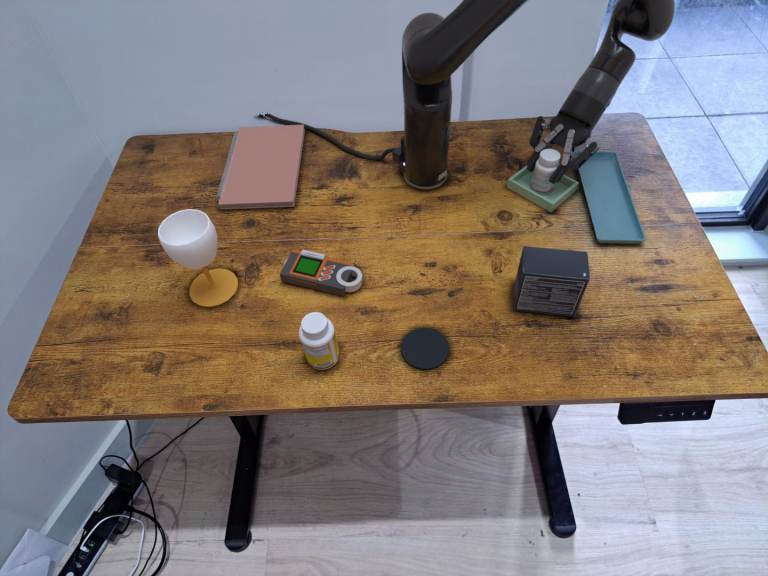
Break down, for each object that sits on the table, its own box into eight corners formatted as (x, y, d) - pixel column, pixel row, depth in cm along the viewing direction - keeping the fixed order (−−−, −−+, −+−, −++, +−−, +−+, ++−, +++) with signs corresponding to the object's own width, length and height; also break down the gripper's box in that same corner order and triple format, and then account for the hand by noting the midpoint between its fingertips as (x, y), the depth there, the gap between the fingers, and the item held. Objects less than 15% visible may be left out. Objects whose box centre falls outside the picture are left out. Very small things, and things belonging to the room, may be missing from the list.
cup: (185, 278, 97) (151, 217, 84) (232, 263, 99) (206, 201, 86) (194, 314, 91) (159, 254, 79) (243, 297, 93) (217, 236, 81)
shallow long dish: (643, 247, 97) (648, 238, 95) (594, 247, 97) (598, 238, 95) (613, 160, 113) (616, 151, 111) (571, 160, 113) (573, 151, 111)
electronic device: (355, 291, 90) (277, 272, 92) (356, 300, 92) (280, 282, 95) (367, 263, 94) (291, 245, 96) (367, 273, 96) (293, 255, 99)
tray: (506, 187, 109) (508, 179, 107) (532, 167, 112) (534, 159, 111) (550, 212, 104) (553, 204, 102) (576, 190, 107) (579, 182, 106)
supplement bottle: (323, 336, 87) (314, 301, 79) (346, 354, 85) (340, 319, 77) (299, 358, 85) (288, 324, 77) (323, 377, 82) (314, 344, 74)
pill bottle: (553, 196, 106) (562, 163, 99) (529, 193, 107) (537, 161, 100) (553, 181, 109) (562, 148, 102) (530, 179, 109) (538, 146, 103)
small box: (573, 289, 91) (589, 249, 83) (575, 318, 87) (592, 280, 79) (513, 282, 93) (523, 243, 85) (512, 311, 89) (523, 273, 81)
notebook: (236, 133, 125) (234, 126, 123) (305, 130, 124) (303, 123, 123) (215, 210, 108) (212, 203, 106) (294, 207, 108) (292, 200, 106)
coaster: (391, 349, 85) (391, 347, 85) (423, 320, 89) (424, 319, 88) (426, 379, 82) (426, 377, 81) (458, 348, 85) (459, 347, 84)
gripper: (553, 77, 99) (505, 156, 104) (620, 106, 93) (565, 189, 97) (562, 91, 106) (517, 165, 110) (625, 119, 99) (574, 196, 104)
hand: (540, 176), depth 104 cm, fingers closed on pill bottle, 4 cm apart
